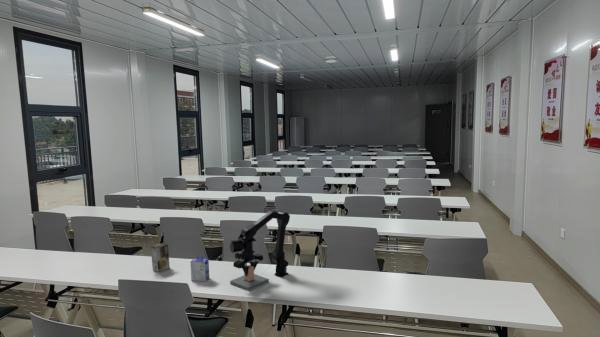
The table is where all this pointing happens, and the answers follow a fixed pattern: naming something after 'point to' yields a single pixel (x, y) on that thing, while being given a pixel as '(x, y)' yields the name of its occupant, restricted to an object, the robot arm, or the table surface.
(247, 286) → the pocket plate
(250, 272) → the tan rectangular block
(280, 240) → the robot arm
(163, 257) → the coffee box
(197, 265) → the ink cartridge box
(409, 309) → the table surface
